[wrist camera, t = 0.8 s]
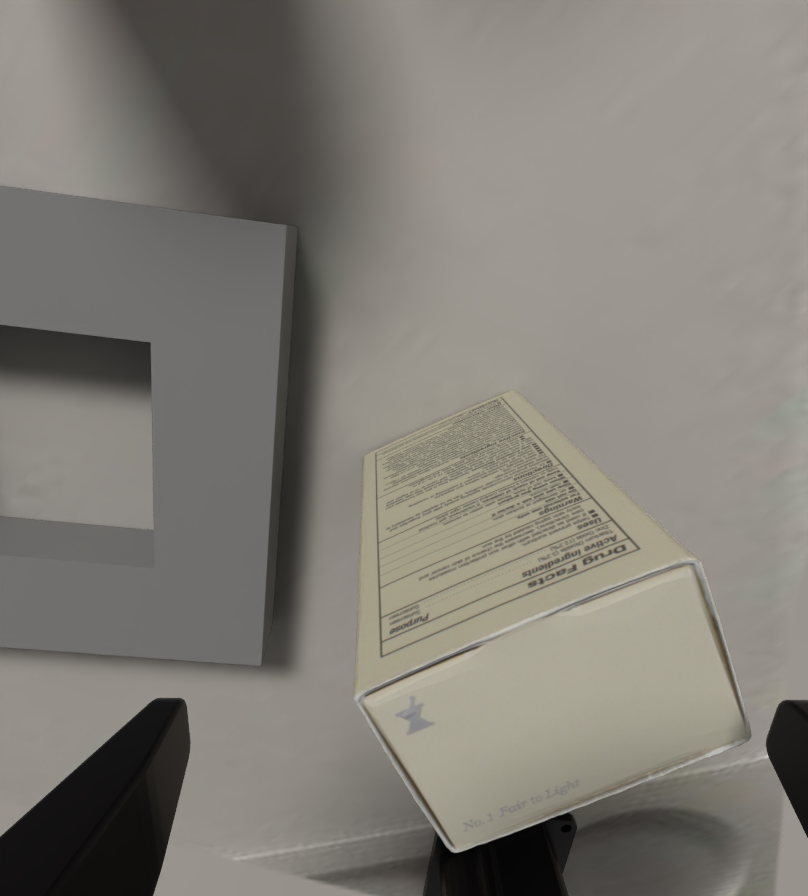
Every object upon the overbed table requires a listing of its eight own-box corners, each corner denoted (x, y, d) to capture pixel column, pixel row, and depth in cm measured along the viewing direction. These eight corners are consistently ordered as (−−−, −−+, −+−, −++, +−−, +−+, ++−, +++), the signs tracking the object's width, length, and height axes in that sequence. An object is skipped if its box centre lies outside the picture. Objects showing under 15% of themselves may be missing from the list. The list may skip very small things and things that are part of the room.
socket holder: (272, 622, 23) (261, 665, 21) (-127, 591, 22) (-187, 633, 20) (297, 227, 18) (286, 224, 16) (-215, 156, 17) (-310, 143, 15)
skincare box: (408, 547, 22) (441, 868, 11) (358, 449, 21) (336, 702, 10) (560, 483, 22) (764, 752, 10) (520, 378, 20) (705, 556, 9)
